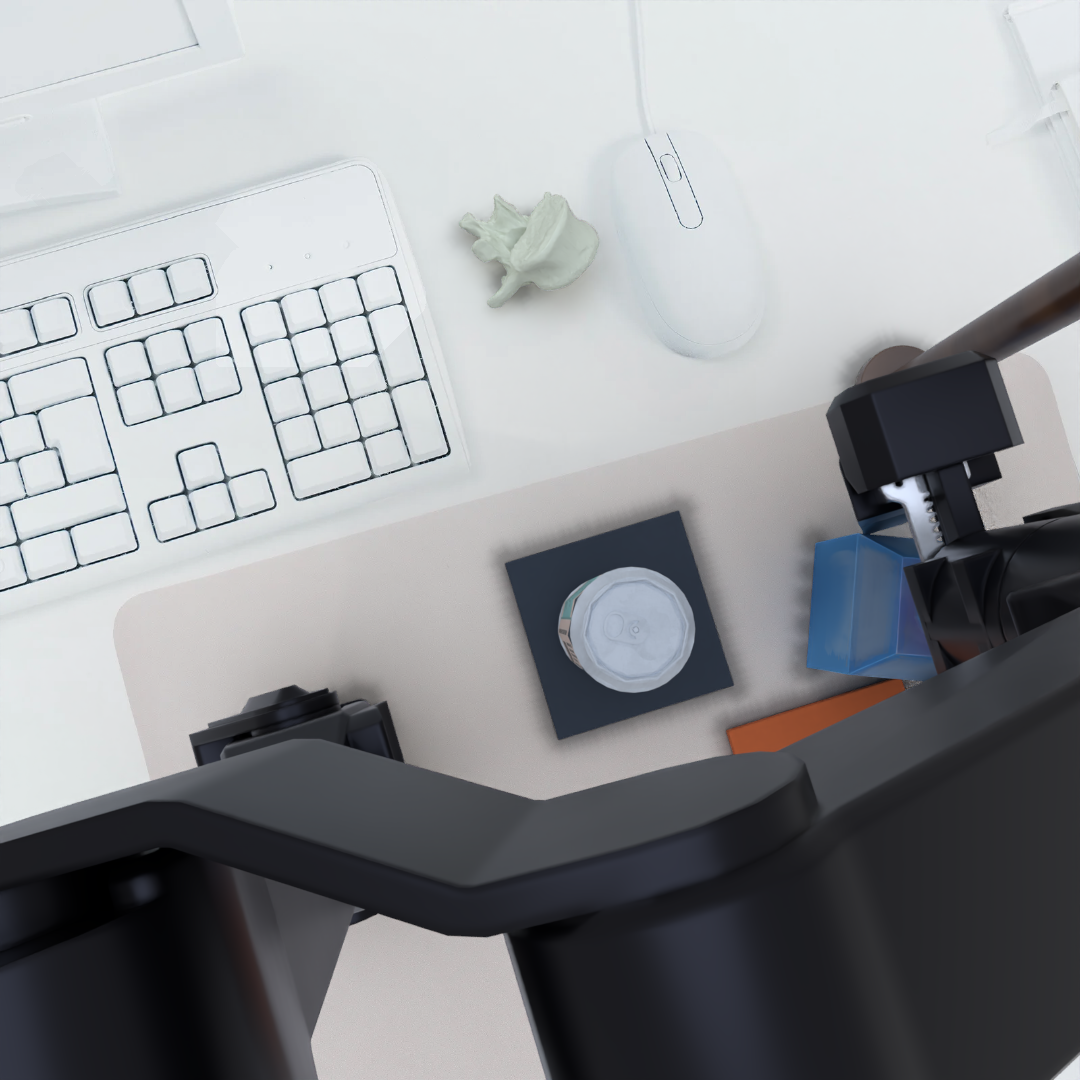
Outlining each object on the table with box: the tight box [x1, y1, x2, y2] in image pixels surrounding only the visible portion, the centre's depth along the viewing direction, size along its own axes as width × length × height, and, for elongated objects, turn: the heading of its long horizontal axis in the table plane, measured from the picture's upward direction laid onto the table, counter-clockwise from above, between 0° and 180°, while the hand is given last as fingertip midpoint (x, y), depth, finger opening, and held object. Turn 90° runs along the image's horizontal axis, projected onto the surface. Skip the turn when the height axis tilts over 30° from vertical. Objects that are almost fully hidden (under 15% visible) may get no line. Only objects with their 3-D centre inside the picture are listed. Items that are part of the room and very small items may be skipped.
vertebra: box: [458, 191, 600, 309], centre depth 50 cm, size 6×7×4 cm
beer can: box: [558, 567, 695, 693], centre depth 44 cm, size 5×5×12 cm
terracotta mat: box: [725, 678, 906, 755], centre depth 50 cm, size 9×9×1 cm
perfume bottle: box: [806, 532, 944, 682], centre depth 45 cm, size 6×6×12 cm
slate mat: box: [504, 510, 735, 741], centre depth 50 cm, size 9×9×1 cm
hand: (900, 609), depth 47 cm, fingers closed on perfume bottle, 7 cm apart
